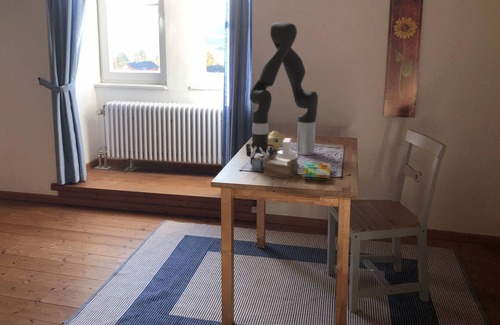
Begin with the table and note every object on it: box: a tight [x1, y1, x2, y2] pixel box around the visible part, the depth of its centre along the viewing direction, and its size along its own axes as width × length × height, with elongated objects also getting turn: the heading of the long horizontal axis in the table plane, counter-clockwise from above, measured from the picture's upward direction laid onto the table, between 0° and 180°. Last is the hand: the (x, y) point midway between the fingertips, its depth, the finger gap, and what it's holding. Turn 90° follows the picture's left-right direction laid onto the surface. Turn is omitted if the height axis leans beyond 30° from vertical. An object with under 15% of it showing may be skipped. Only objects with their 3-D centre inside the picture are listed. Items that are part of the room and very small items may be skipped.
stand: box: [263, 153, 299, 179], centre depth 218 cm, size 10×12×8 cm
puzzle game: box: [301, 161, 332, 181], centre depth 216 cm, size 12×5×20 cm
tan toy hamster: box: [267, 130, 284, 152], centre depth 262 cm, size 10×12×11 cm
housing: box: [251, 154, 265, 171], centre depth 228 cm, size 8×4×6 cm, turn 154°
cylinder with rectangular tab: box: [276, 137, 297, 160], centre depth 235 cm, size 9×9×12 cm
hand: (259, 166), depth 229 cm, fingers open, 6 cm apart
